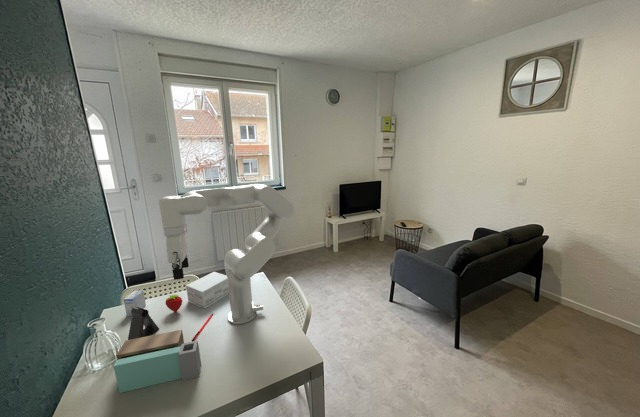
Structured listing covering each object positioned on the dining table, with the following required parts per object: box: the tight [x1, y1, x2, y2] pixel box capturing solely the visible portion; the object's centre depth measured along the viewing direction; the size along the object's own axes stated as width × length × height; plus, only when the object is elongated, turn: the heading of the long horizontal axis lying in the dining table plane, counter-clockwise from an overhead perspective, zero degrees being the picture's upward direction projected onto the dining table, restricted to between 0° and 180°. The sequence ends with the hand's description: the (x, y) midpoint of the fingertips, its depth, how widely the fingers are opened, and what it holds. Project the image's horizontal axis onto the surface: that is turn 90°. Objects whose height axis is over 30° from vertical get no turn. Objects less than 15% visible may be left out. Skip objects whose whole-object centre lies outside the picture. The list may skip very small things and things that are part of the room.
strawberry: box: [165, 293, 183, 313], centre depth 120 cm, size 6×8×10 cm
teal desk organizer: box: [113, 340, 202, 394], centre depth 84 cm, size 23×5×10 cm, turn 107°
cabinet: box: [116, 329, 185, 361], centre depth 89 cm, size 23×13×9 cm, turn 107°
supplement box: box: [185, 271, 229, 310], centre depth 133 cm, size 17×13×9 cm
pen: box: [191, 313, 214, 342], centre depth 110 cm, size 1×19×1 cm, turn 177°
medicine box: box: [123, 289, 147, 317], centre depth 122 cm, size 8×4×9 cm, turn 5°
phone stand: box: [127, 307, 160, 340], centre depth 105 cm, size 9×6×12 cm, turn 158°
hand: (181, 272), depth 98 cm, fingers open, 9 cm apart
